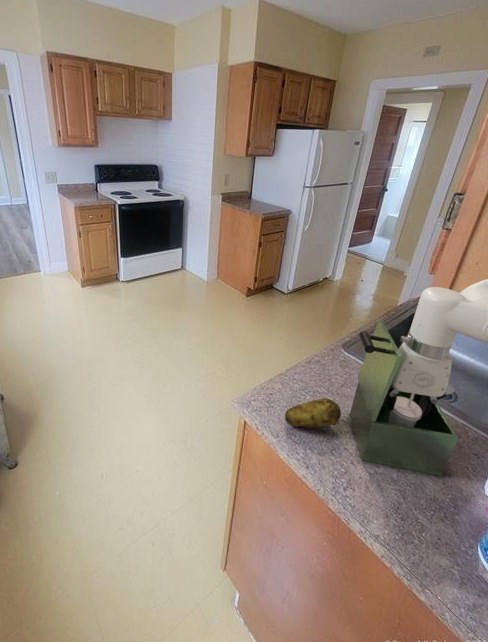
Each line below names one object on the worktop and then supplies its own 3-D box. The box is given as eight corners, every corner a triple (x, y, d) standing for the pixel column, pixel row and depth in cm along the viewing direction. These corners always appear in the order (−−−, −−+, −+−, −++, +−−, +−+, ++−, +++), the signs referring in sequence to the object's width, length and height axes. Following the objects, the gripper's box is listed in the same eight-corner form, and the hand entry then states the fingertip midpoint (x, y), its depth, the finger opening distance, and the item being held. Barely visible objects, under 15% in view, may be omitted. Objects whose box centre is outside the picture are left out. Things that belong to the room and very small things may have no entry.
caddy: (417, 426, 83) (430, 391, 79) (441, 476, 71) (458, 438, 66) (349, 414, 86) (358, 380, 82) (361, 460, 74) (372, 422, 70)
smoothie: (417, 448, 75) (434, 403, 69) (389, 448, 75) (405, 402, 69) (401, 425, 81) (416, 382, 75) (376, 425, 81) (389, 381, 75)
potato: (287, 405, 89) (291, 382, 86) (337, 420, 84) (343, 397, 81) (282, 428, 82) (286, 404, 79) (336, 446, 77) (342, 422, 74)
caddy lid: (382, 320, 75) (357, 316, 76) (402, 356, 62) (373, 351, 63) (360, 379, 82) (338, 374, 83) (375, 421, 69) (349, 415, 70)
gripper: (388, 349, 66) (369, 414, 73) (485, 362, 62) (455, 429, 69) (378, 329, 73) (361, 390, 79) (464, 340, 69) (439, 403, 76)
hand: (405, 408), depth 74 cm, fingers closed on smoothie, 6 cm apart
